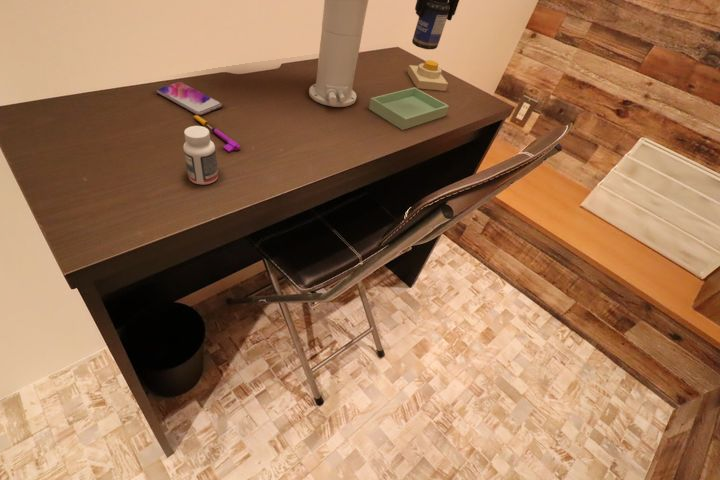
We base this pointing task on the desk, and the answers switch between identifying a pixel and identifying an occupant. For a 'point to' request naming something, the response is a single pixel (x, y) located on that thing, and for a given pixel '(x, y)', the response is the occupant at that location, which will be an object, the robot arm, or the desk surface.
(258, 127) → the desk surface
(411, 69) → the box
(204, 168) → the pill bottle
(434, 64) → the button
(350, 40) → the robot arm
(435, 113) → the tray
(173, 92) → the smartphone
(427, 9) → the pill bottle
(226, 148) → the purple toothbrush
